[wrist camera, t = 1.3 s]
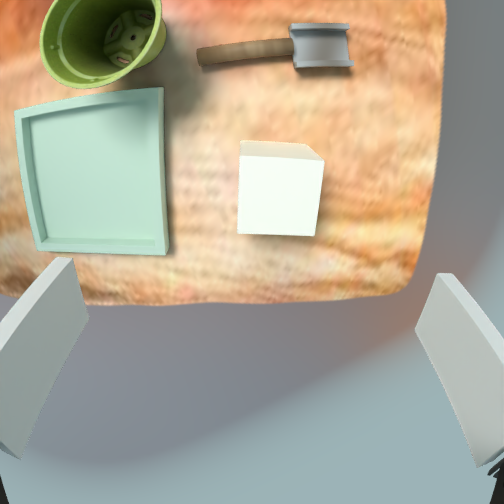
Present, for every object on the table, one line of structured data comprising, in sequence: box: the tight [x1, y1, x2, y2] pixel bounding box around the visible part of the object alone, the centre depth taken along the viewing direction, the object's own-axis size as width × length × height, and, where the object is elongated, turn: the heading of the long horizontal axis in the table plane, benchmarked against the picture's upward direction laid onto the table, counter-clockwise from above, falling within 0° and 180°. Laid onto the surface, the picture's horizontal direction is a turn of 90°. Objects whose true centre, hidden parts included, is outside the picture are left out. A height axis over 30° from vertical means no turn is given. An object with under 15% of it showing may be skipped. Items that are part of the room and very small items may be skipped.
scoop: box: [197, 23, 354, 68], centre depth 22 cm, size 13×4×2 cm, turn 97°
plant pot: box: [40, 0, 166, 89], centre depth 18 cm, size 9×9×9 cm
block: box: [237, 140, 324, 236], centre depth 26 cm, size 6×6×7 cm
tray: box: [14, 87, 170, 255], centre depth 27 cm, size 16×16×2 cm
